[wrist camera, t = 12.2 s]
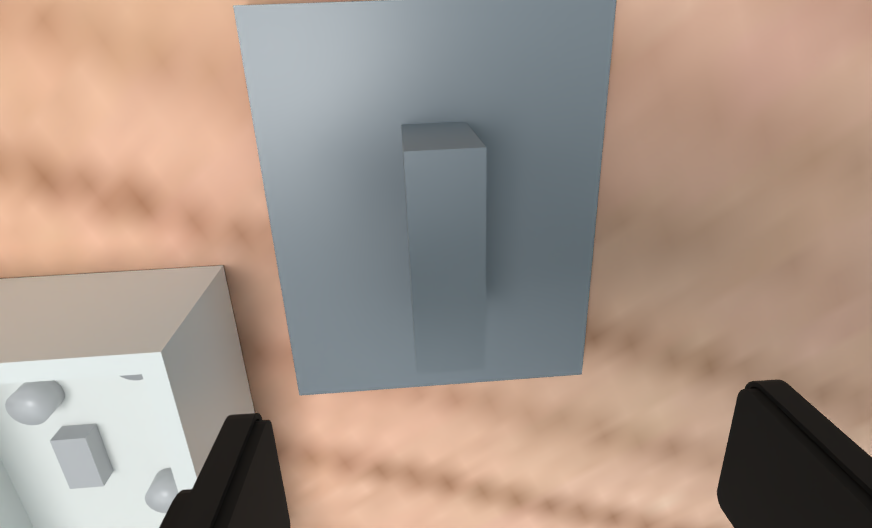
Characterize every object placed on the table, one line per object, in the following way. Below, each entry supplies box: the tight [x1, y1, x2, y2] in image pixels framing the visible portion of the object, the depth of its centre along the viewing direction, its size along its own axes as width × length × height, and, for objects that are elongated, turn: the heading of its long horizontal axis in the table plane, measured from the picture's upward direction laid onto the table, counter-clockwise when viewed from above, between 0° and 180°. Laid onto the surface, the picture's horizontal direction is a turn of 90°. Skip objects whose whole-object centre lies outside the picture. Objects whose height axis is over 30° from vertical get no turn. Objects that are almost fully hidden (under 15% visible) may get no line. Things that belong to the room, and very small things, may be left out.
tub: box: [0, 265, 255, 528], centre depth 23 cm, size 16×13×7 cm
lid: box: [233, 0, 616, 395], centre depth 21 cm, size 17×14×7 cm
